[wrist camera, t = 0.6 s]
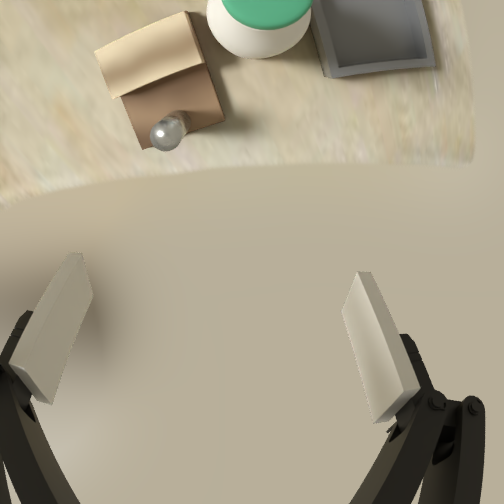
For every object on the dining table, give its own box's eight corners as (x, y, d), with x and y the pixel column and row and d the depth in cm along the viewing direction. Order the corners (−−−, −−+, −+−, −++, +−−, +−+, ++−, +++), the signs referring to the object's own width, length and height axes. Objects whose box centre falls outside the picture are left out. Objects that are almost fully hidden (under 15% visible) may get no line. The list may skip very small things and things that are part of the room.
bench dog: (160, 115, 31) (145, 127, 26) (185, 106, 31) (174, 116, 26) (169, 139, 33) (156, 155, 28) (194, 130, 33) (185, 145, 28)
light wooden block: (103, 51, 26) (94, 51, 24) (187, 14, 25) (183, 11, 23) (120, 96, 30) (112, 99, 28) (204, 62, 28) (201, 62, 26)
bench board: (106, 47, 27) (102, 47, 26) (188, 12, 26) (186, 10, 25) (145, 147, 34) (142, 149, 33) (225, 118, 33) (224, 120, 32)
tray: (292, -26, 23) (297, -34, 21) (397, -32, 21) (409, -37, 19) (324, 76, 30) (331, 78, 28) (422, 64, 29) (435, 66, 26)
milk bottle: (303, 26, 27) (377, -6, 11) (256, 72, 30) (275, 88, 14) (249, -17, 24) (260, -96, 8) (201, 31, 27) (153, -1, 11)
